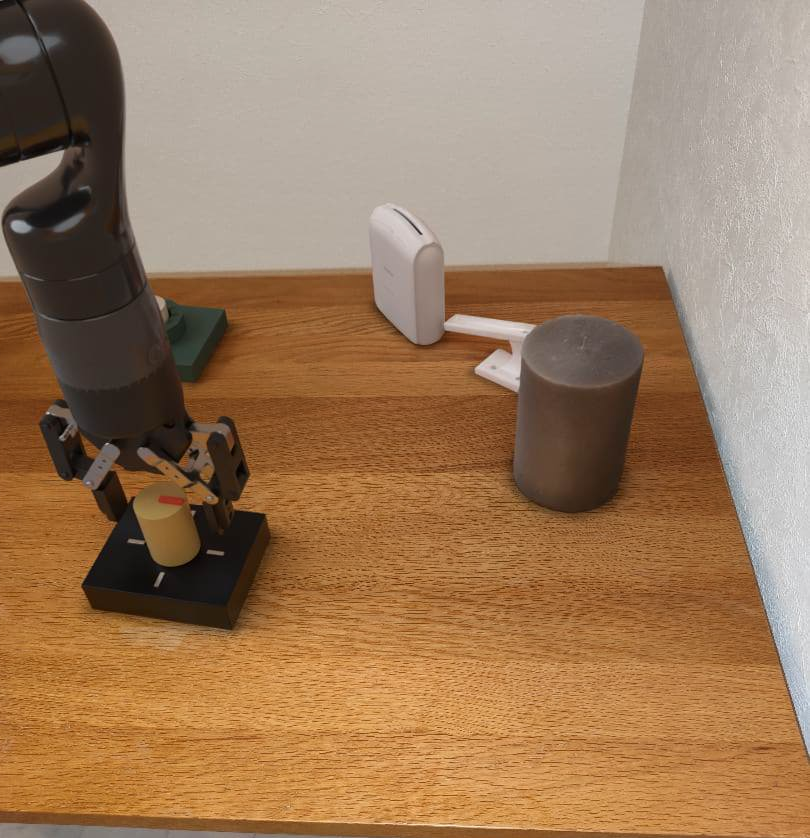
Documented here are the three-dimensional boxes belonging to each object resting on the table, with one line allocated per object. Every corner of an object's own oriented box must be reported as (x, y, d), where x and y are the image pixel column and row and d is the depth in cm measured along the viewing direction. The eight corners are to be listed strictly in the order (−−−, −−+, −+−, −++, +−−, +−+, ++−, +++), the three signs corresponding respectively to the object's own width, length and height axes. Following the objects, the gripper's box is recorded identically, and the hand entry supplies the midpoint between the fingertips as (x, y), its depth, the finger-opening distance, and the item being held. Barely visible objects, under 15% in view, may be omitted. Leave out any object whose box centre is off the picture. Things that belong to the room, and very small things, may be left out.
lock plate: (91, 608, 72) (79, 584, 70) (140, 519, 78) (131, 494, 76) (232, 630, 70) (225, 606, 68) (271, 537, 76) (265, 511, 74)
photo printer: (369, 304, 99) (361, 199, 90) (402, 293, 101) (398, 187, 91) (415, 352, 93) (412, 244, 84) (450, 339, 94) (450, 231, 85)
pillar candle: (637, 502, 78) (669, 362, 66) (529, 522, 77) (543, 382, 65) (598, 430, 84) (621, 291, 73) (498, 447, 83) (506, 309, 72)
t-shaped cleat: (600, 430, 84) (608, 384, 80) (432, 354, 93) (432, 309, 89) (622, 408, 86) (630, 362, 82) (455, 335, 95) (456, 291, 91)
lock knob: (142, 563, 71) (123, 513, 67) (162, 526, 73) (144, 476, 69) (190, 570, 70) (173, 519, 66) (207, 533, 73) (192, 482, 69)
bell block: (88, 371, 93) (76, 339, 90) (126, 316, 99) (117, 284, 96) (196, 382, 91) (187, 350, 88) (228, 326, 97) (221, 294, 94)
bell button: (128, 328, 92) (124, 313, 90) (142, 308, 94) (138, 293, 93) (161, 331, 91) (157, 316, 90) (174, 311, 93) (170, 296, 92)
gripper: (233, 324, 59) (271, 497, 71) (36, 307, 61) (105, 477, 73) (193, 396, 54) (240, 568, 66) (-19, 374, 56) (64, 544, 68)
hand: (169, 520), depth 70 cm, fingers open, 8 cm apart
